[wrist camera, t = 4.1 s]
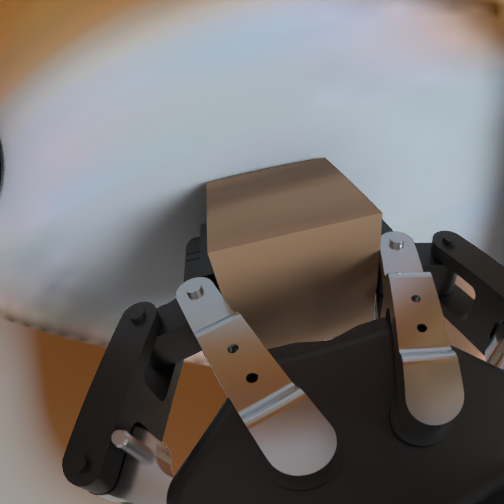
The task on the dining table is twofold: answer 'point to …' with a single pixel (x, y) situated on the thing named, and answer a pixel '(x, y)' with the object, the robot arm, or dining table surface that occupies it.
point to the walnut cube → (294, 250)
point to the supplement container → (1, 165)
